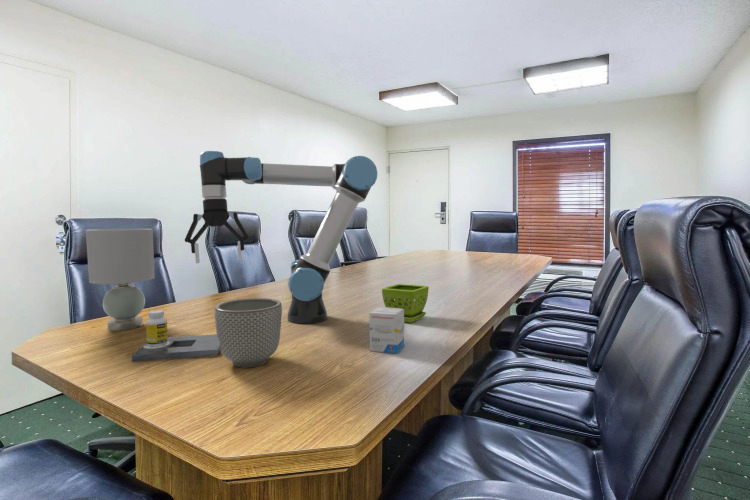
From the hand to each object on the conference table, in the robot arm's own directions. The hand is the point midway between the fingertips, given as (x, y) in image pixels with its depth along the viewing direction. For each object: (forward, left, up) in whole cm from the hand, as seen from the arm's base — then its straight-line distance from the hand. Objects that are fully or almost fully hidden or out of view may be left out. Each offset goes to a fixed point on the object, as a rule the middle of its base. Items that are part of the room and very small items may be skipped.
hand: (219, 261), depth 136 cm
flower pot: (-67, -3, -25) cm, 71 cm away
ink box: (-52, +29, -25) cm, 64 cm away
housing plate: (+8, +17, -24) cm, 31 cm away
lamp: (+35, -15, -25) cm, 46 cm away
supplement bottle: (+15, +17, -23) cm, 32 cm away
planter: (-12, +32, -25) cm, 43 cm away
